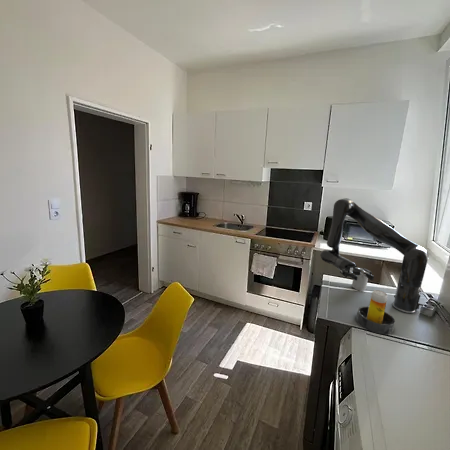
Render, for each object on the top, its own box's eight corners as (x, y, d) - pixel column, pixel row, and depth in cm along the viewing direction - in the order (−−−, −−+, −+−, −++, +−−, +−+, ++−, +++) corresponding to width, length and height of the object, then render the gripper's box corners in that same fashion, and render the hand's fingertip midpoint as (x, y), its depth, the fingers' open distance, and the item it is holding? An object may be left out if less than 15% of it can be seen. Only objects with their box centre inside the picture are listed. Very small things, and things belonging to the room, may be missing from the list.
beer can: (380, 328, 108) (387, 297, 105) (365, 322, 112) (371, 292, 108) (382, 322, 113) (388, 292, 109) (367, 317, 116) (373, 288, 113)
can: (349, 284, 151) (353, 266, 149) (362, 286, 150) (366, 268, 148) (354, 290, 144) (357, 271, 141) (367, 292, 143) (371, 273, 140)
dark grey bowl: (377, 314, 120) (378, 306, 119) (401, 333, 106) (403, 324, 105) (349, 314, 118) (351, 306, 117) (370, 334, 104) (372, 325, 103)
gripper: (334, 259, 133) (352, 271, 117) (358, 259, 135) (379, 271, 119) (332, 272, 135) (350, 285, 119) (356, 272, 136) (377, 285, 121)
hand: (364, 278), depth 119 cm, fingers open, 8 cm apart
